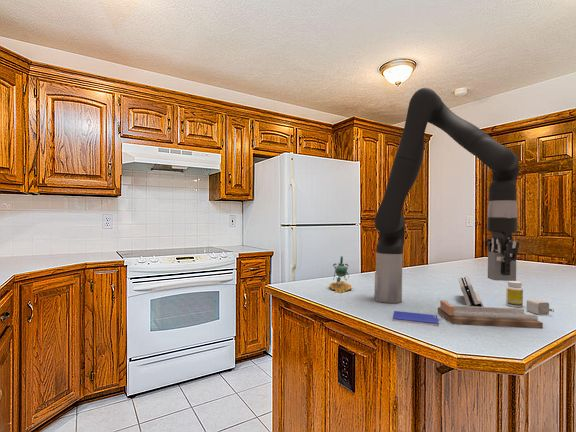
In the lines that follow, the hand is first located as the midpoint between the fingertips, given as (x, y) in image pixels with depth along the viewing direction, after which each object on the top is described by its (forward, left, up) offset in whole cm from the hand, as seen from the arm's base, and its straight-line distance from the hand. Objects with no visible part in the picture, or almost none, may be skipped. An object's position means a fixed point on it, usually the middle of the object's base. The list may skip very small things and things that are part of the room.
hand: (501, 273), depth 100 cm
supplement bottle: (+14, +19, -14) cm, 28 cm away
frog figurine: (-45, +36, -14) cm, 60 cm away
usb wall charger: (+17, +9, -14) cm, 24 cm away
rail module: (0, 0, -2) cm, 2 cm away
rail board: (-4, 0, -14) cm, 14 cm away
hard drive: (-26, -3, -15) cm, 30 cm away
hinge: (+1, +24, -14) cm, 28 cm away
